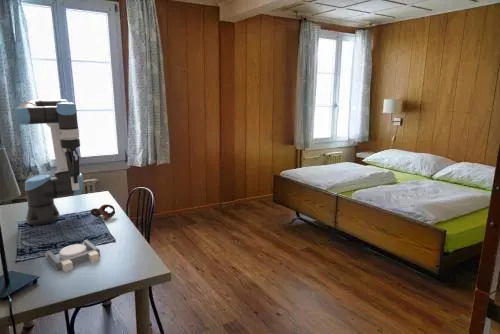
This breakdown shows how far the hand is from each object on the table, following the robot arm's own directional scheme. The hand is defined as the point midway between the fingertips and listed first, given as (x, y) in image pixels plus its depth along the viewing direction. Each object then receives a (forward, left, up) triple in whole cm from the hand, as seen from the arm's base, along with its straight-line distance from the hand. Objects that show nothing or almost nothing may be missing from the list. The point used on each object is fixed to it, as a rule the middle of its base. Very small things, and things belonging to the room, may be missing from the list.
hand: (75, 189), depth 153 cm
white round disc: (+18, -9, -23) cm, 31 cm away
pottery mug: (-15, +17, -23) cm, 32 cm away
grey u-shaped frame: (+20, -10, -23) cm, 32 cm away
